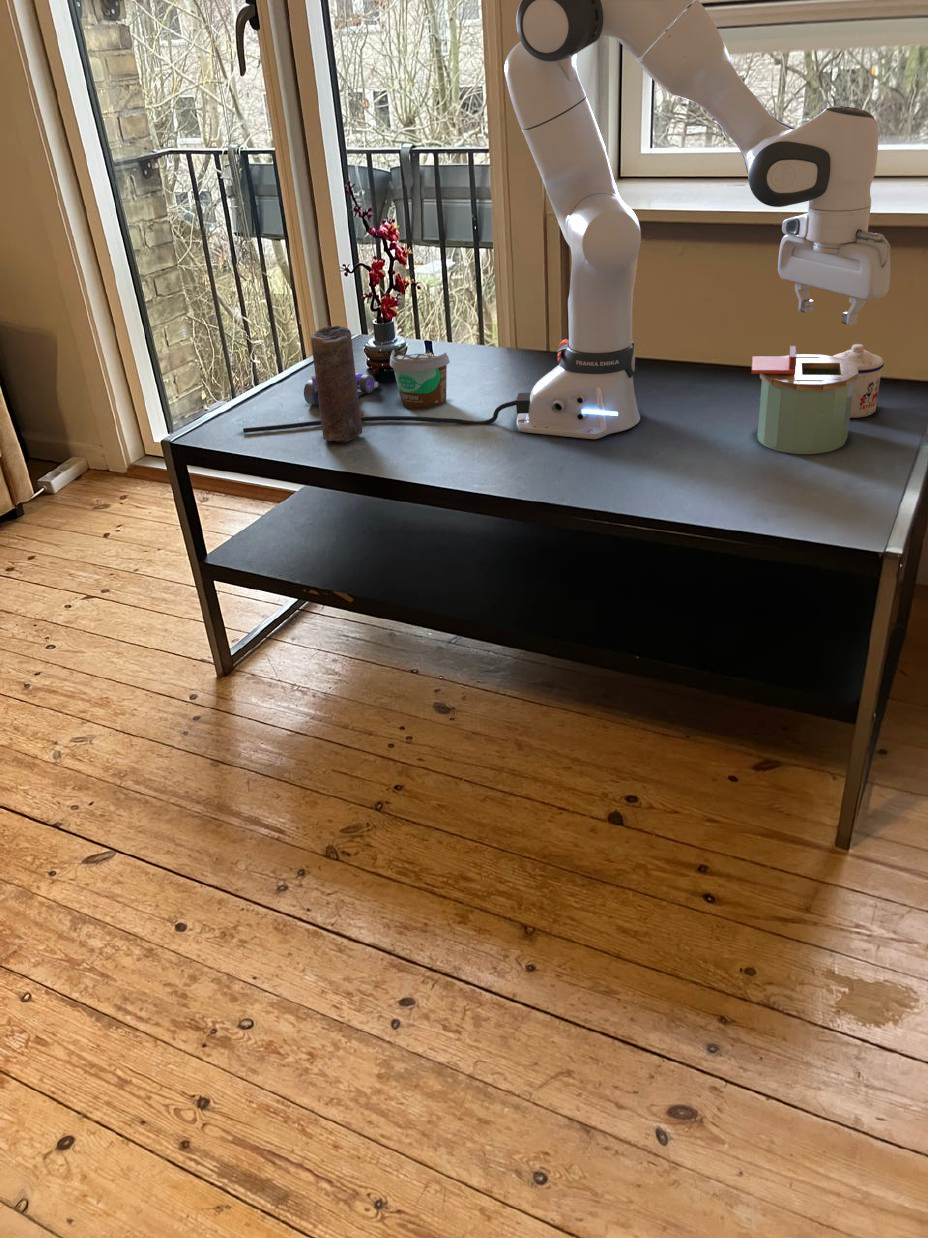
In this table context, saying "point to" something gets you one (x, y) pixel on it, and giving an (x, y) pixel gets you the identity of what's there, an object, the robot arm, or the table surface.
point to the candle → (336, 383)
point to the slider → (775, 363)
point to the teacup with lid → (864, 380)
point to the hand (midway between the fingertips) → (826, 317)
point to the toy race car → (362, 380)
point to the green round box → (804, 417)
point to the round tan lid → (815, 381)
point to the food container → (420, 379)
